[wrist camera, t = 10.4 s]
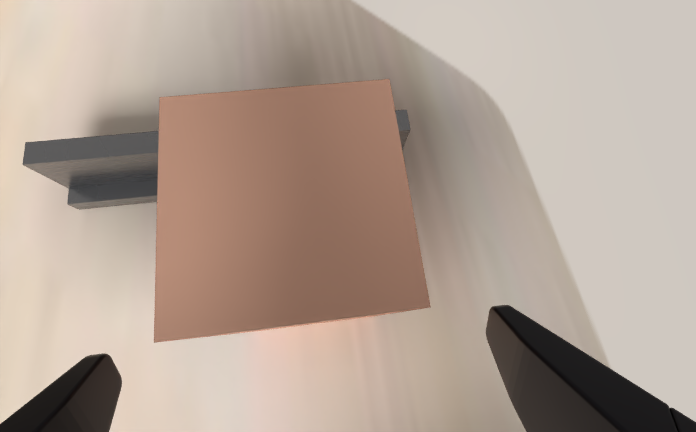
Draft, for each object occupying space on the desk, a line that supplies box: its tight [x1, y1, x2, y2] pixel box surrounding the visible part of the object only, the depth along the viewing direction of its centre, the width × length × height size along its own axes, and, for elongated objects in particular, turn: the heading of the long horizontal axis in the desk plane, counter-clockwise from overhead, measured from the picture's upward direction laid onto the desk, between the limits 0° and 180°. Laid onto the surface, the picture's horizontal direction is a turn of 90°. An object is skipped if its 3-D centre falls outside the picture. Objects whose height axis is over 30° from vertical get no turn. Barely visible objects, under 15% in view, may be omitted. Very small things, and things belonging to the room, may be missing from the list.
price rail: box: [23, 110, 410, 209], centre depth 17 cm, size 2×16×4 cm, turn 97°
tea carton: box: [154, 79, 430, 342], centre depth 13 cm, size 6×6×10 cm
